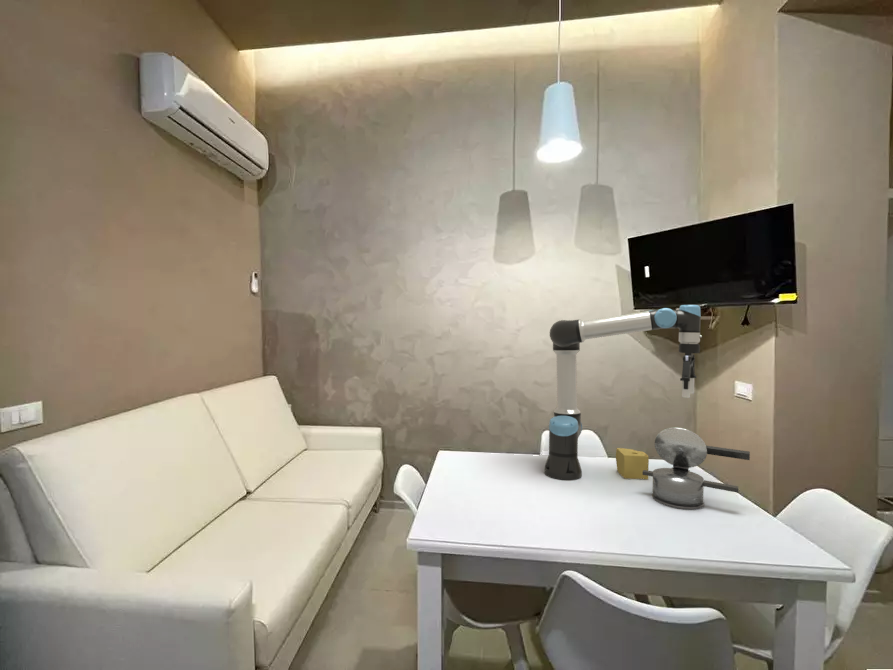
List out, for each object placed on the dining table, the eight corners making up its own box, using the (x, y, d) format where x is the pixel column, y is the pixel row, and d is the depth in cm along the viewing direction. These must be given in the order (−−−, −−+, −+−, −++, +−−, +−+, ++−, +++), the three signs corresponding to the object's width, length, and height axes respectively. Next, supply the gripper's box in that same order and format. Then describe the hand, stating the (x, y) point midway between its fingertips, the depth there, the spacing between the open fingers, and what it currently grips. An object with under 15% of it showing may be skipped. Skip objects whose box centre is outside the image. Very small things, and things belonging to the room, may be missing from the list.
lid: (653, 425, 161) (654, 422, 163) (655, 465, 167) (656, 461, 169) (750, 437, 144) (750, 433, 146) (749, 481, 150) (749, 477, 152)
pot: (638, 500, 155) (638, 475, 155) (647, 485, 169) (647, 462, 169) (737, 521, 138) (738, 493, 138) (738, 503, 153) (738, 478, 152)
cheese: (640, 471, 186) (640, 448, 186) (649, 480, 176) (650, 455, 175) (615, 470, 187) (615, 447, 187) (623, 479, 177) (623, 454, 176)
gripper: (696, 344, 163) (695, 400, 163) (703, 342, 183) (702, 392, 184) (674, 343, 167) (673, 398, 168) (683, 342, 188) (682, 391, 188)
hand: (688, 395), depth 176 cm, fingers open, 13 cm apart
